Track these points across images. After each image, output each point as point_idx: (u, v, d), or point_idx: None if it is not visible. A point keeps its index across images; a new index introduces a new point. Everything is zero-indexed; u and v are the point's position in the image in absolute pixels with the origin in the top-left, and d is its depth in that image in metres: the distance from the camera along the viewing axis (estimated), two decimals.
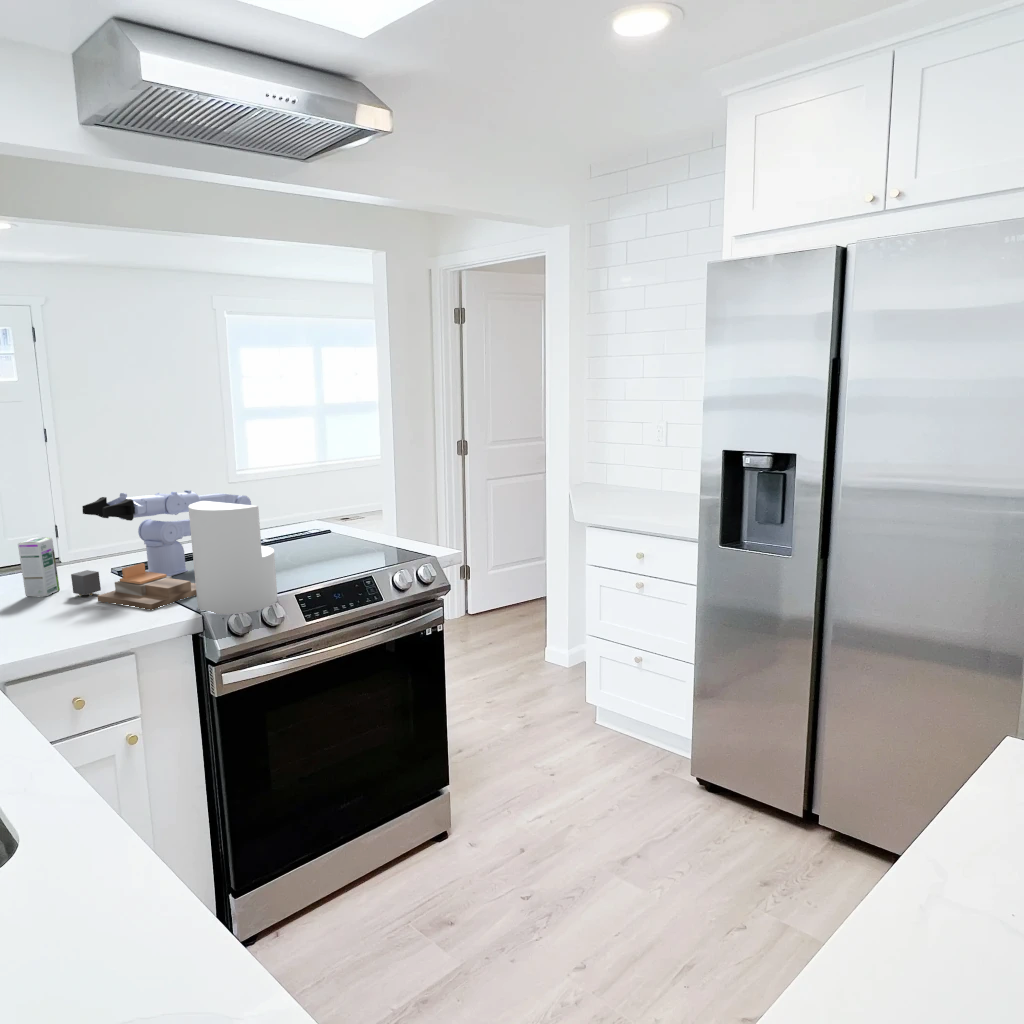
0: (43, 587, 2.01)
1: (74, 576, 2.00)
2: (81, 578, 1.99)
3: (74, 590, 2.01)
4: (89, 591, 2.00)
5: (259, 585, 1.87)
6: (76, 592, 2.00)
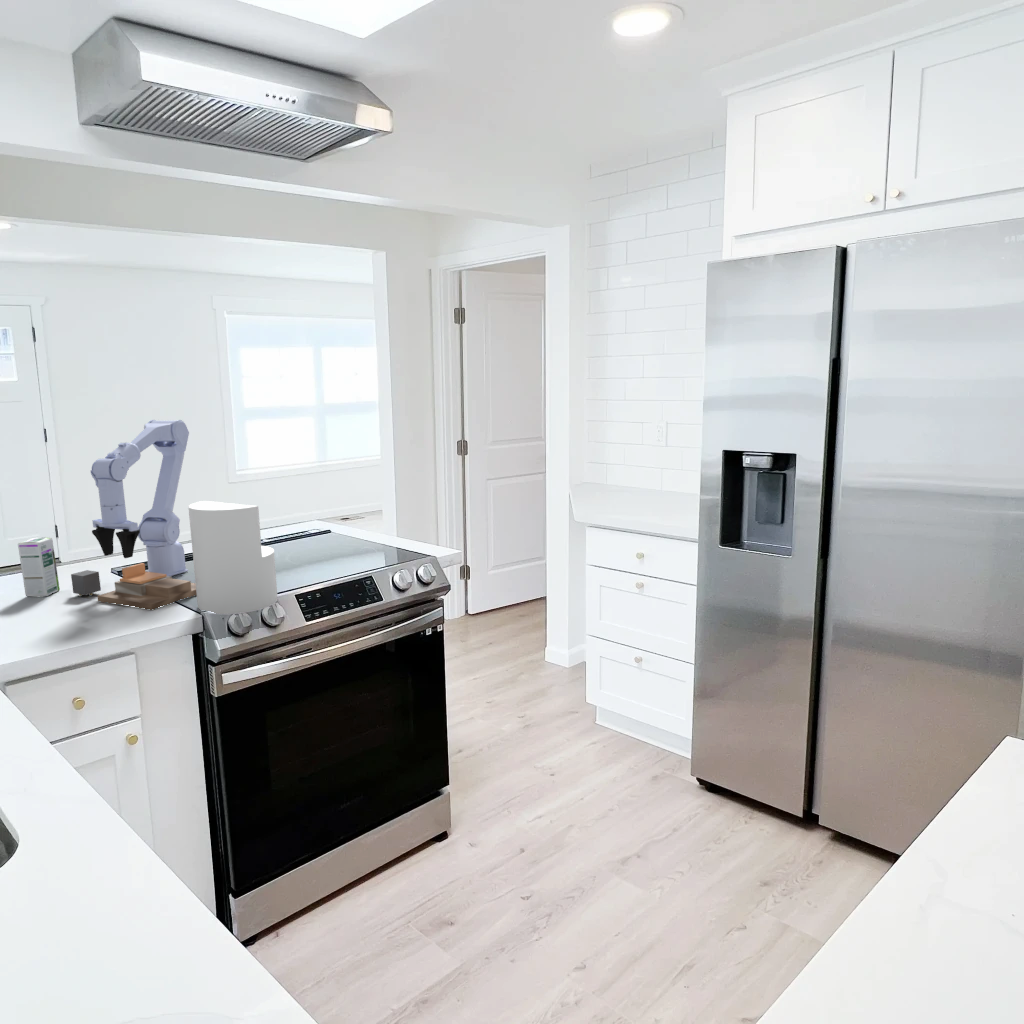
0: (43, 587, 2.01)
1: (74, 576, 2.00)
2: (81, 578, 1.99)
3: (74, 590, 2.01)
4: (89, 591, 2.00)
5: (259, 585, 1.87)
6: (76, 592, 2.00)
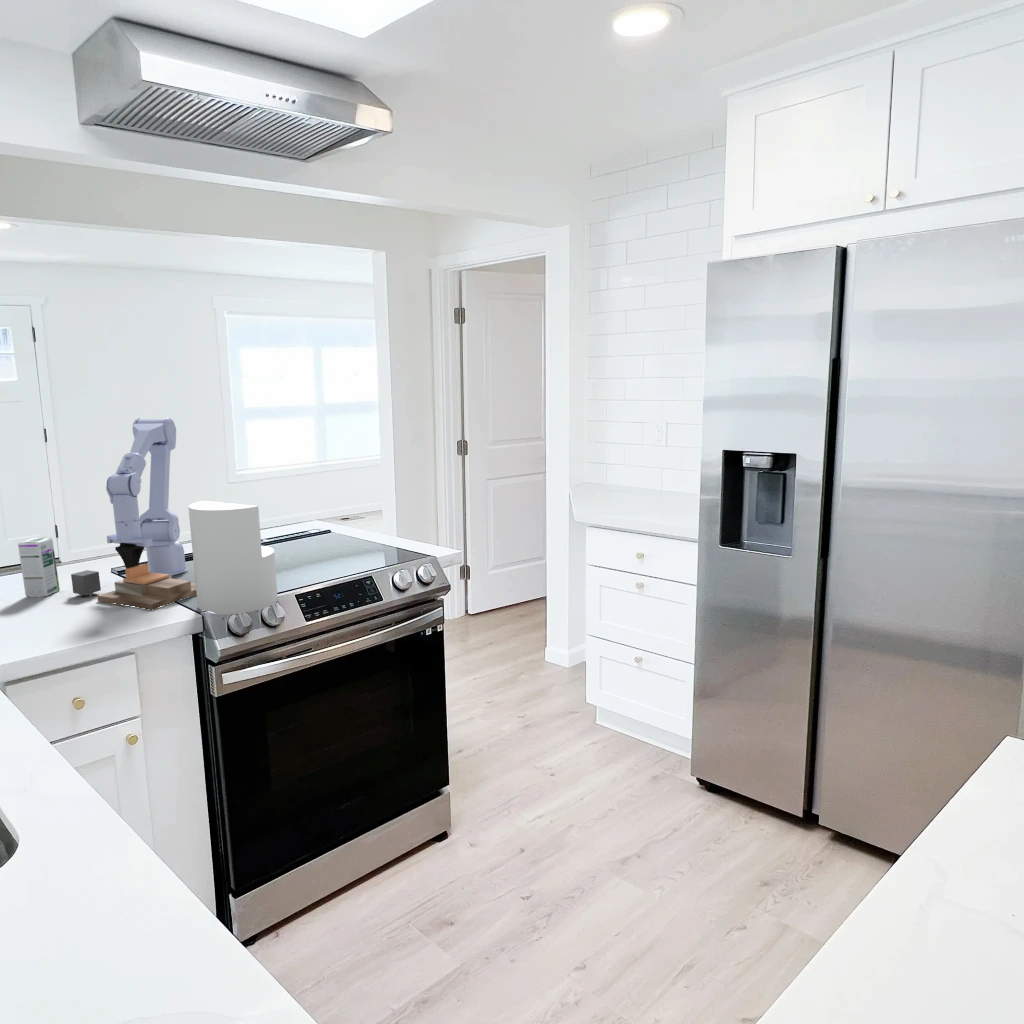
0: (43, 587, 2.01)
1: (74, 576, 2.00)
2: (81, 578, 1.99)
3: (74, 590, 2.01)
4: (89, 591, 2.00)
5: (259, 585, 1.87)
6: (76, 592, 2.00)
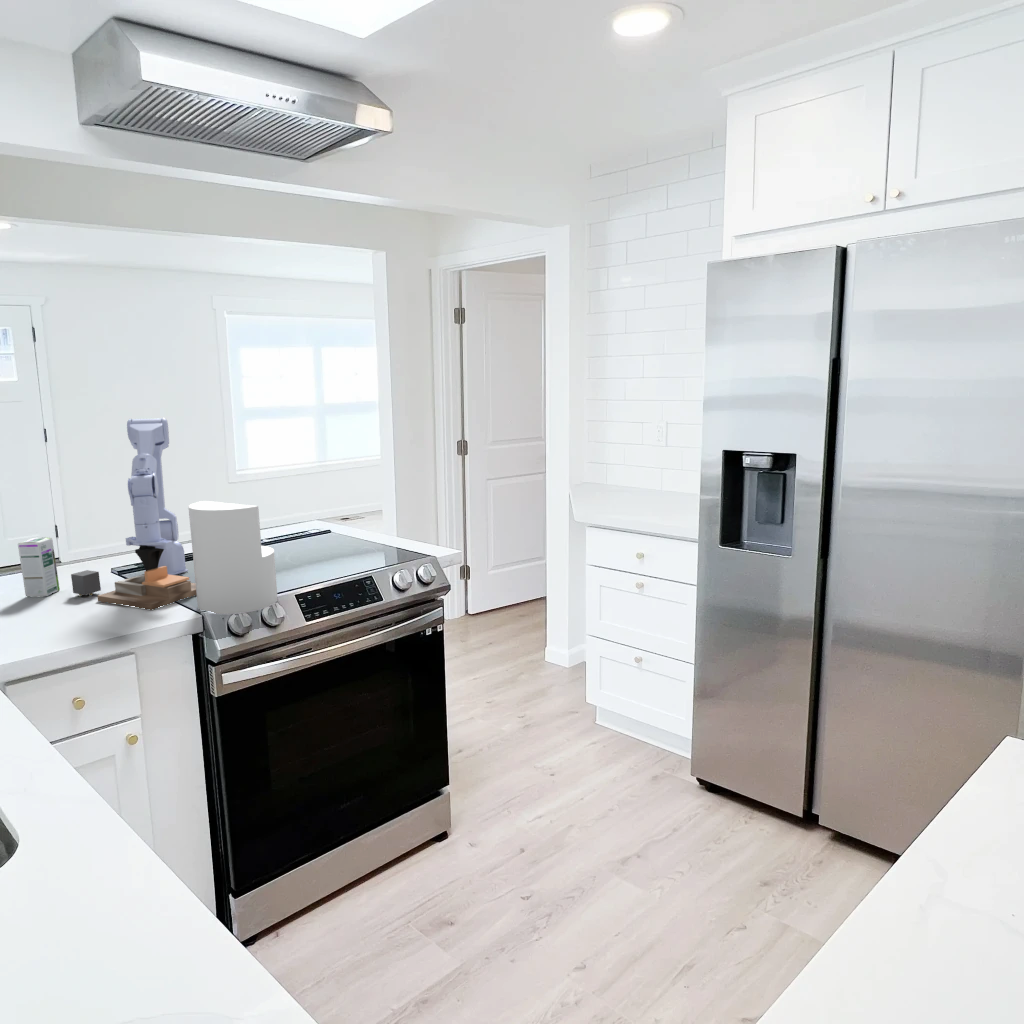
0: (43, 587, 2.01)
1: (74, 576, 2.00)
2: (81, 578, 1.99)
3: (74, 590, 2.01)
4: (89, 591, 2.00)
5: (259, 585, 1.87)
6: (76, 592, 2.00)
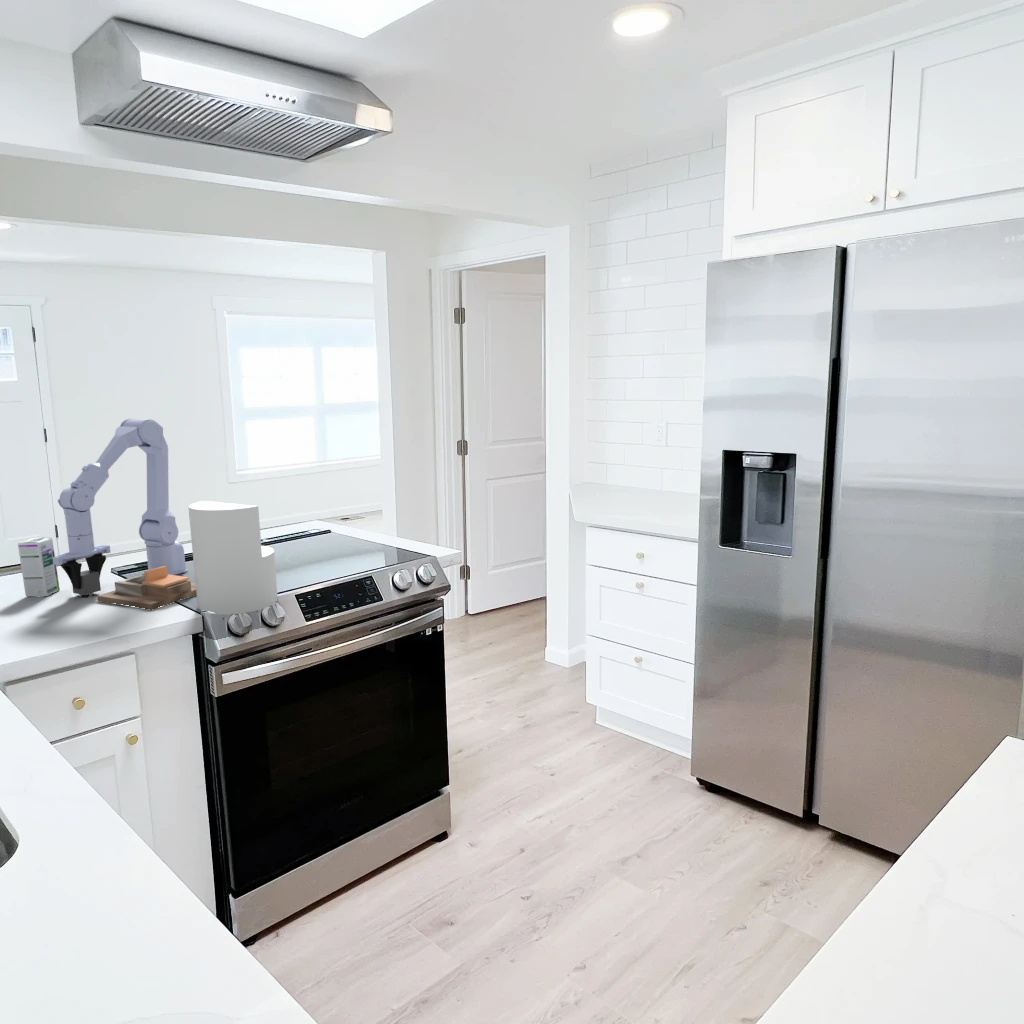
0: (43, 587, 2.01)
1: None
2: (81, 578, 1.99)
3: (74, 590, 2.01)
4: (89, 591, 2.00)
5: (259, 585, 1.87)
6: (76, 592, 2.00)
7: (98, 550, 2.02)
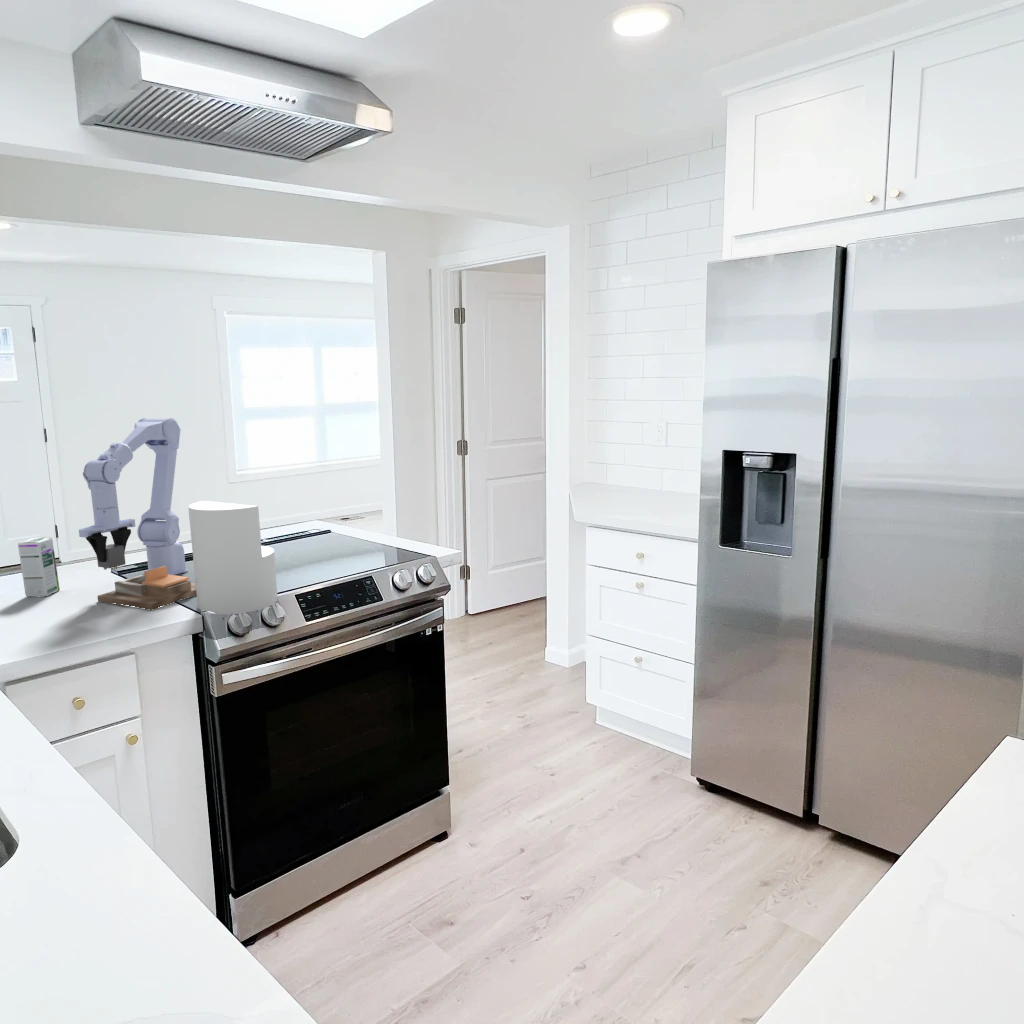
0: (43, 587, 2.01)
1: None
2: (106, 551, 1.97)
3: (98, 563, 1.99)
4: (114, 565, 1.99)
5: (259, 585, 1.87)
6: (101, 565, 1.99)
7: (123, 523, 2.00)
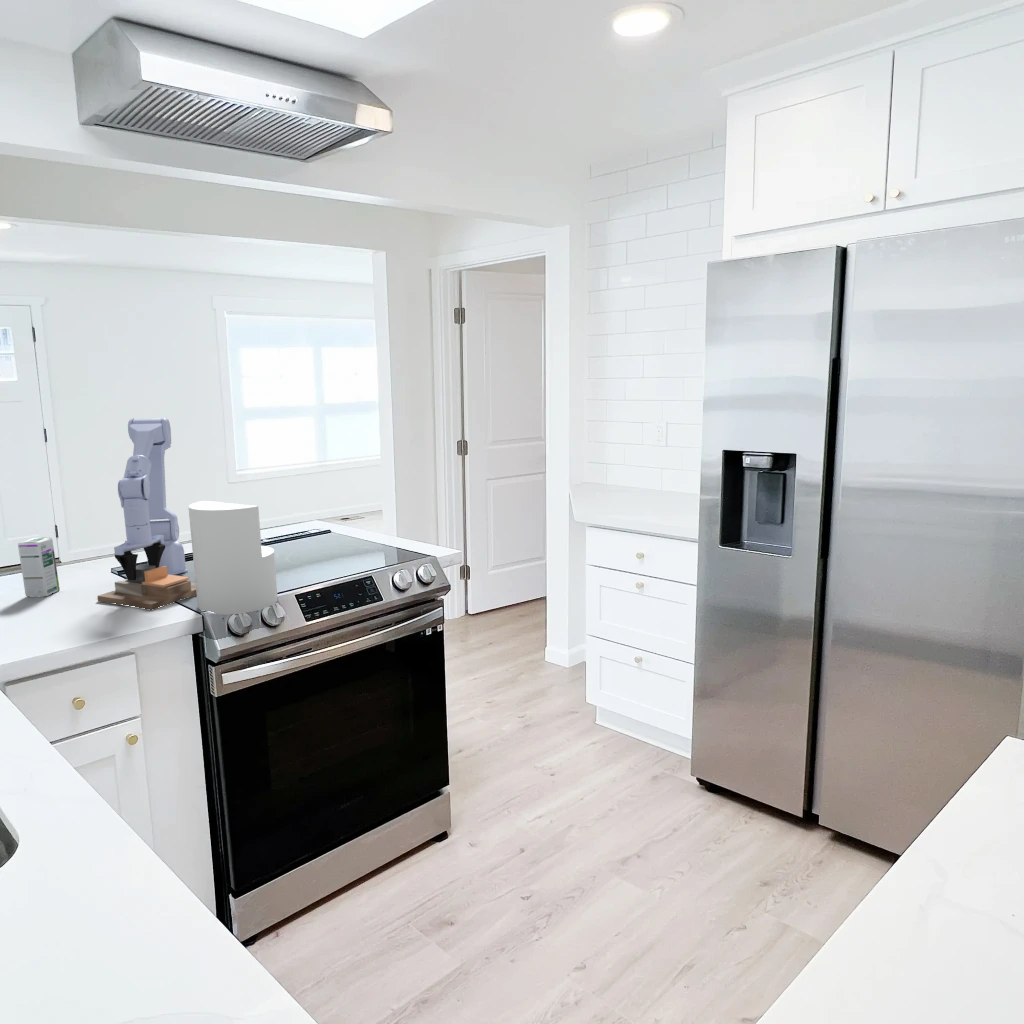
0: (43, 587, 2.01)
1: None
2: (140, 572, 1.98)
3: None
4: None
5: (259, 585, 1.87)
6: None
7: (155, 540, 2.01)
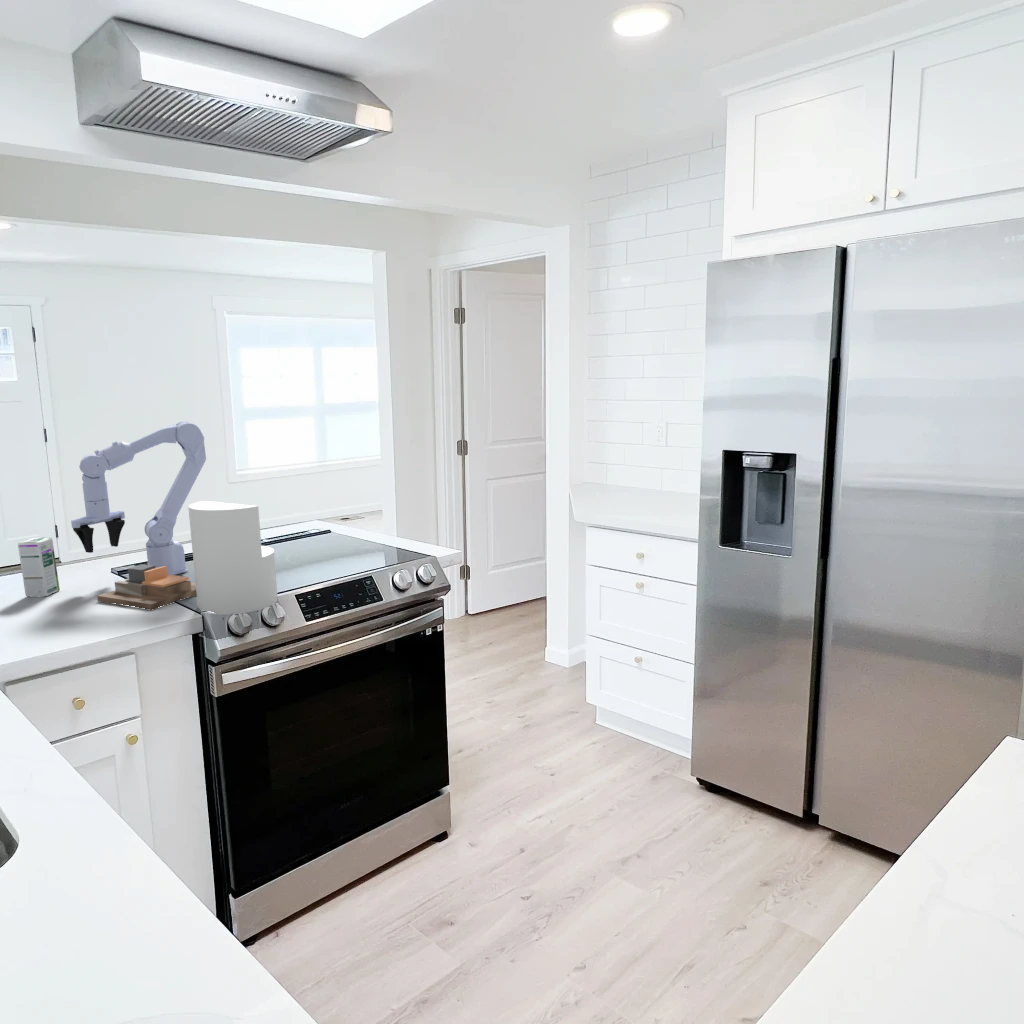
0: (43, 587, 2.01)
1: (132, 570, 1.99)
2: (140, 572, 1.98)
3: None
4: None
5: (259, 585, 1.87)
6: None
7: (113, 515, 2.12)
